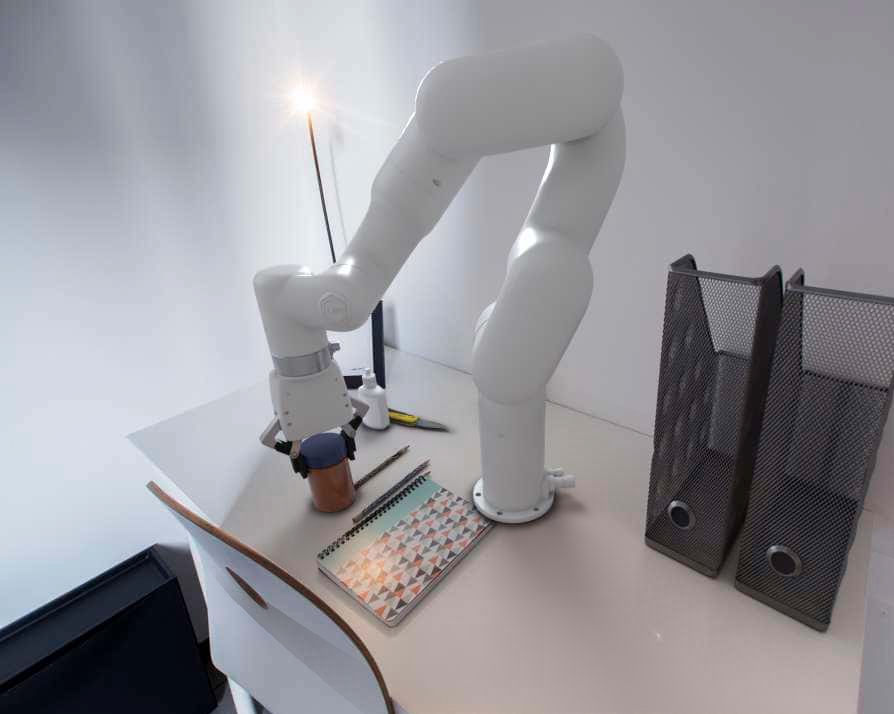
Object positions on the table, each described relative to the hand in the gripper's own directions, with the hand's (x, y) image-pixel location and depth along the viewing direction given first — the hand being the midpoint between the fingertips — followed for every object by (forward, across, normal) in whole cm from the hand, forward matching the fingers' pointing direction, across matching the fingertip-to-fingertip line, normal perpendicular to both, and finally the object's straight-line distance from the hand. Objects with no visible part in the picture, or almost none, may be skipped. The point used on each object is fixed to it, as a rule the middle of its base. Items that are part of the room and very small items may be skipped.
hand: (326, 464), depth 81 cm
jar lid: (-3, 0, 0) cm, 3 cm away
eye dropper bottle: (+7, -15, -17) cm, 23 cm away
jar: (+7, 0, 0) cm, 7 cm away
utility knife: (+7, -21, -13) cm, 25 cm away
